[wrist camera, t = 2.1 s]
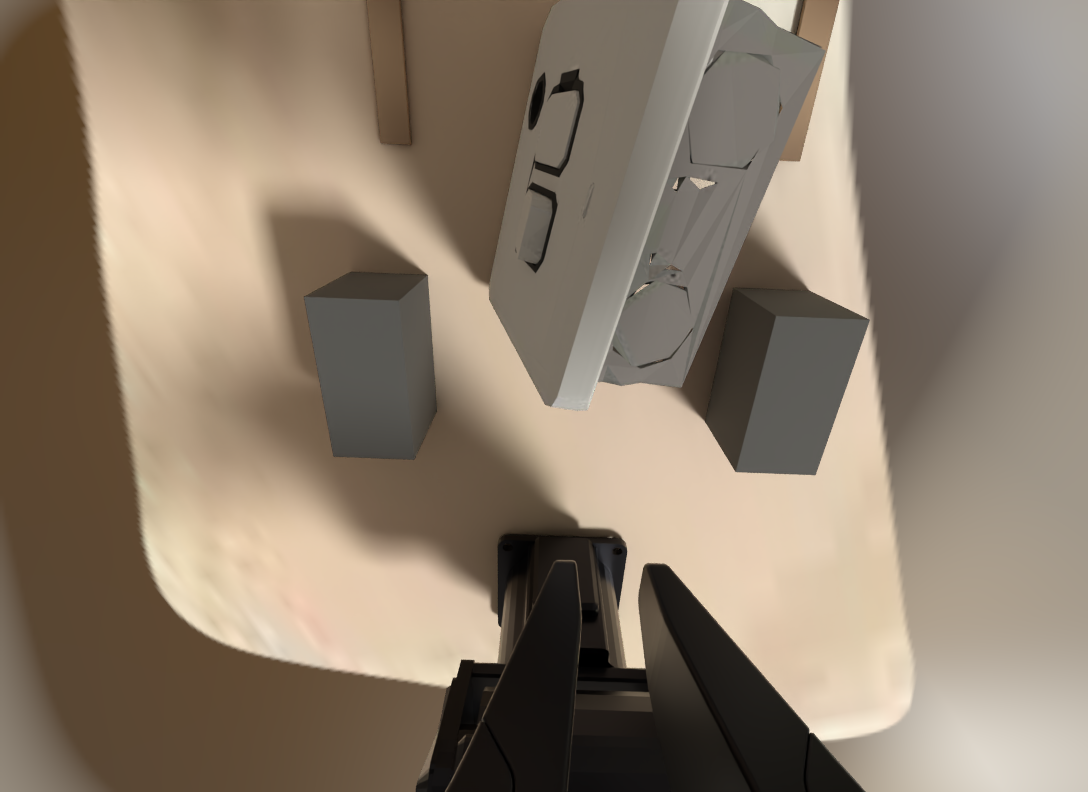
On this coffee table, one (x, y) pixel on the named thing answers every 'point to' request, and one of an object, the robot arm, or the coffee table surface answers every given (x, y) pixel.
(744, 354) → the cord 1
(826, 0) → the bay
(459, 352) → the coffee table surface
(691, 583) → the coffee table surface
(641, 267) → the electrical switch
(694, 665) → the robot arm
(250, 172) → the coffee table surface
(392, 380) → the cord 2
